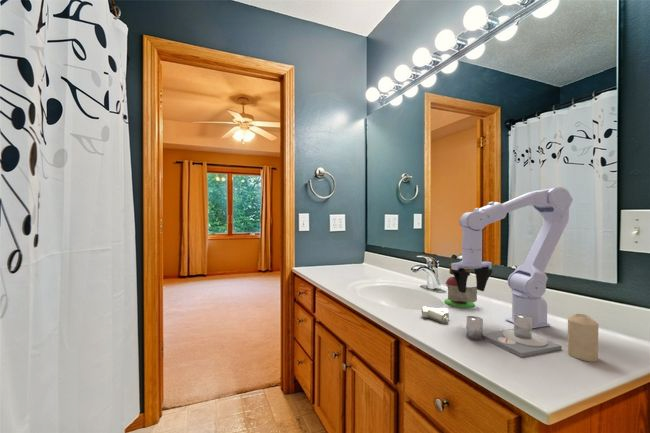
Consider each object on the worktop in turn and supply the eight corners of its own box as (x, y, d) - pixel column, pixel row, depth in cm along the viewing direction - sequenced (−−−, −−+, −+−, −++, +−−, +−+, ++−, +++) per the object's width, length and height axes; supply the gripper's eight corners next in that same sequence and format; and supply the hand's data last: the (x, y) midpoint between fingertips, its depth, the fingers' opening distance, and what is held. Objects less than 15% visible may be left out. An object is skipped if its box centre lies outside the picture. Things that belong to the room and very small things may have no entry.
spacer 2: (518, 332, 80) (518, 312, 80) (534, 337, 76) (534, 317, 76) (511, 335, 78) (511, 315, 78) (527, 340, 74) (527, 319, 74)
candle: (601, 364, 65) (601, 321, 65) (570, 357, 68) (570, 316, 68) (594, 354, 70) (594, 314, 70) (565, 349, 73) (566, 310, 73)
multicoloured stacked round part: (435, 299, 116) (435, 263, 116) (464, 299, 117) (464, 263, 118) (451, 309, 104) (451, 268, 104) (483, 308, 106) (483, 268, 106)
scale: (516, 331, 84) (516, 326, 84) (561, 349, 73) (561, 344, 73) (480, 337, 80) (480, 332, 80) (521, 357, 68) (521, 351, 68)
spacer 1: (474, 334, 81) (474, 315, 82) (486, 340, 78) (486, 320, 78) (463, 336, 80) (463, 316, 80) (474, 342, 76) (474, 321, 76)
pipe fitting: (450, 326, 89) (446, 317, 95) (451, 314, 89) (446, 306, 95) (424, 324, 91) (421, 315, 97) (424, 312, 90) (421, 304, 97)
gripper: (479, 247, 97) (478, 286, 97) (444, 248, 93) (444, 289, 93) (497, 249, 91) (496, 292, 91) (461, 250, 86) (460, 295, 86)
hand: (471, 291), depth 91 cm, fingers open, 7 cm apart
